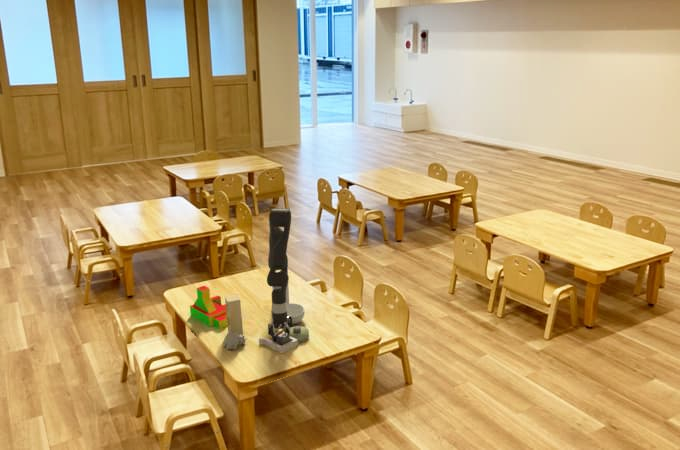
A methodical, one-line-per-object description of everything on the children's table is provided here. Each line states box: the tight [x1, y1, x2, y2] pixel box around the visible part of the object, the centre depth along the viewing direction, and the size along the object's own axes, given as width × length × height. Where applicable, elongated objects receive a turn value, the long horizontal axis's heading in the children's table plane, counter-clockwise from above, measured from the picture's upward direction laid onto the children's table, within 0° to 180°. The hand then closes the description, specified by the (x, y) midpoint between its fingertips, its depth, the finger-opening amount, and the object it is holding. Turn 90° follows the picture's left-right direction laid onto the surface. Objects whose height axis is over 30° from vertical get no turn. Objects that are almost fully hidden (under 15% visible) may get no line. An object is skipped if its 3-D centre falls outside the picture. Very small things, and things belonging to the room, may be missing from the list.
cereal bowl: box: [286, 302, 305, 325], centre depth 332 cm, size 17×17×7 cm
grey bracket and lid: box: [258, 325, 310, 354], centre depth 313 cm, size 16×24×5 cm
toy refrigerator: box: [224, 294, 244, 336], centre depth 317 cm, size 8×7×21 cm
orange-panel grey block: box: [274, 328, 290, 346], centre depth 308 cm, size 8×4×7 cm, turn 46°
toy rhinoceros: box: [222, 332, 247, 351], centre depth 307 cm, size 7×12×8 cm, turn 127°
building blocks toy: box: [189, 285, 228, 330], centre depth 337 cm, size 19×25×18 cm
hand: (281, 338), depth 308 cm, fingers open, 8 cm apart
